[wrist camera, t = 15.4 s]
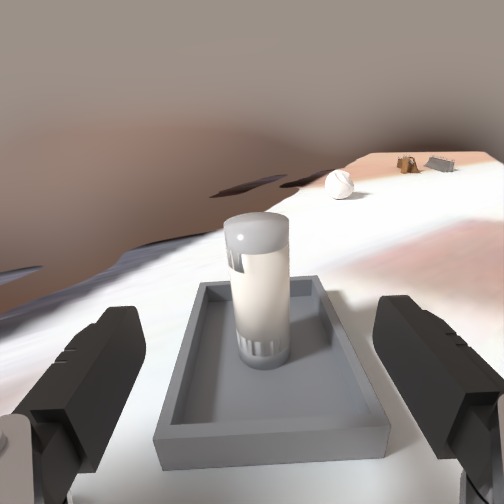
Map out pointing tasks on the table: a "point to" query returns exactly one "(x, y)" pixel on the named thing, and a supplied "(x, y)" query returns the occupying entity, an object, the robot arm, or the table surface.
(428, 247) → the table surface
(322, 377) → the parts tray
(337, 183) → the white ball
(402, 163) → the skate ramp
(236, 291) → the fuse
